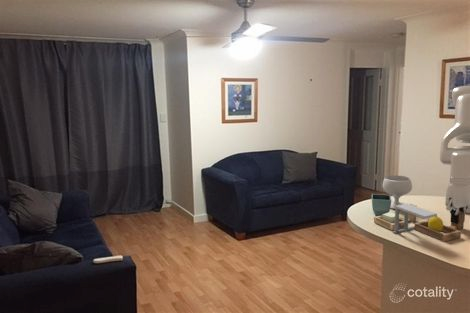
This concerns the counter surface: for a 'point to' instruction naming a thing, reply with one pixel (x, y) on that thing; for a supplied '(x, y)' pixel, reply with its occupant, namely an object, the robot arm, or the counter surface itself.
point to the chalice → (397, 187)
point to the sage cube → (389, 217)
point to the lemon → (435, 224)
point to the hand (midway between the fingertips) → (457, 221)
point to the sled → (392, 226)
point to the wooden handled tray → (450, 230)
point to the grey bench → (408, 209)
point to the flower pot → (381, 204)
